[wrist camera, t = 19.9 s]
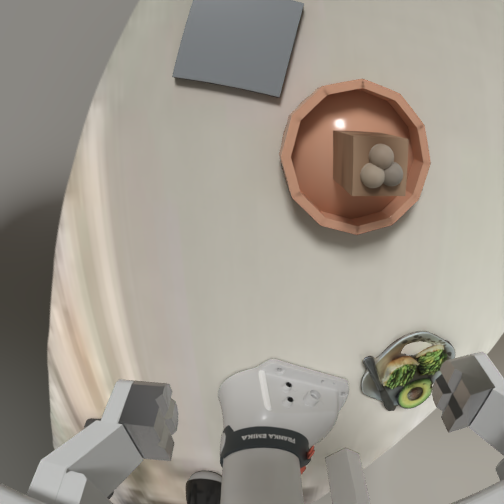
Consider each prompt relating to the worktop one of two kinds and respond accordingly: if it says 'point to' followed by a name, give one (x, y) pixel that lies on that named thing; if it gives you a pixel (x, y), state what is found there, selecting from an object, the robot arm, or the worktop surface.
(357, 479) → the milk
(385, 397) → the salad plate
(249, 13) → the parts tray
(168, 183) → the worktop surface
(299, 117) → the bowl
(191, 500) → the black egg-shaped dome
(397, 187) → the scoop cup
